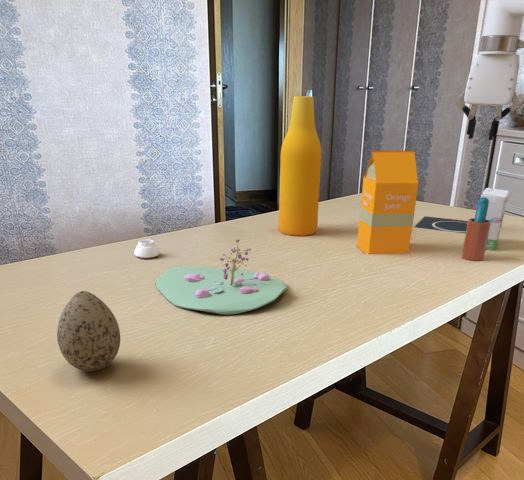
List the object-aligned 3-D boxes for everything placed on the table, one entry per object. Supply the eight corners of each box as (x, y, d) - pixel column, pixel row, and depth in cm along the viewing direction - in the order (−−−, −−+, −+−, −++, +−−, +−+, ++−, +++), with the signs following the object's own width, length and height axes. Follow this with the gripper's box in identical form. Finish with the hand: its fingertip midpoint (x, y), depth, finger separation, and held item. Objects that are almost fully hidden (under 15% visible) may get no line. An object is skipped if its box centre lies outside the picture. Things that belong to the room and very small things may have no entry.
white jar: (145, 250, 110) (129, 256, 106) (144, 236, 109) (128, 242, 105) (164, 254, 108) (149, 260, 104) (163, 240, 106) (148, 246, 103)
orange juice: (408, 255, 110) (423, 152, 101) (368, 256, 109) (379, 153, 100) (394, 244, 117) (407, 148, 108) (356, 245, 115) (365, 148, 106)
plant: (118, 293, 88) (112, 239, 84) (193, 261, 104) (191, 215, 100) (246, 326, 77) (246, 266, 73) (308, 285, 93) (311, 234, 89)
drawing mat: (496, 225, 134) (497, 223, 134) (490, 240, 121) (491, 238, 121) (424, 217, 141) (424, 215, 141) (411, 230, 128) (411, 228, 128)
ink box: (494, 252, 112) (507, 196, 107) (470, 249, 114) (481, 193, 109) (498, 243, 119) (510, 189, 114) (475, 240, 121) (485, 187, 116)
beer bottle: (270, 231, 126) (273, 95, 113) (294, 224, 132) (300, 95, 119) (300, 238, 120) (307, 97, 107) (324, 231, 126) (334, 96, 113)
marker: (478, 257, 107) (490, 196, 102) (476, 259, 106) (489, 198, 100) (467, 255, 108) (479, 195, 103) (466, 258, 107) (478, 197, 101)
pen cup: (483, 258, 108) (492, 219, 105) (481, 264, 105) (490, 224, 101) (462, 256, 110) (469, 217, 106) (459, 261, 106) (467, 221, 103)
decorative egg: (57, 362, 66) (43, 287, 62) (114, 350, 69) (104, 277, 65) (70, 388, 61) (56, 308, 56) (131, 373, 64) (122, 296, 59)
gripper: (541, 48, 113) (520, 140, 121) (460, 48, 119) (445, 135, 128) (540, 46, 107) (519, 142, 115) (455, 46, 113) (440, 138, 122)
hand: (480, 138), depth 121 cm, fingers open, 3 cm apart
